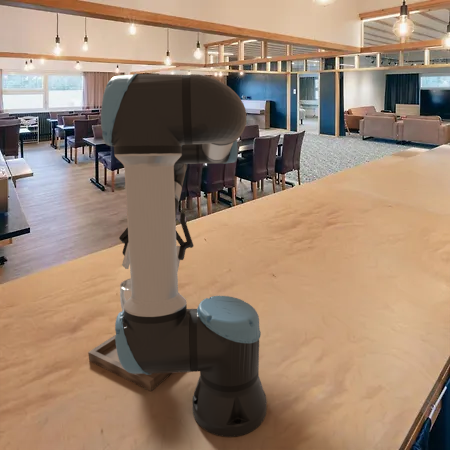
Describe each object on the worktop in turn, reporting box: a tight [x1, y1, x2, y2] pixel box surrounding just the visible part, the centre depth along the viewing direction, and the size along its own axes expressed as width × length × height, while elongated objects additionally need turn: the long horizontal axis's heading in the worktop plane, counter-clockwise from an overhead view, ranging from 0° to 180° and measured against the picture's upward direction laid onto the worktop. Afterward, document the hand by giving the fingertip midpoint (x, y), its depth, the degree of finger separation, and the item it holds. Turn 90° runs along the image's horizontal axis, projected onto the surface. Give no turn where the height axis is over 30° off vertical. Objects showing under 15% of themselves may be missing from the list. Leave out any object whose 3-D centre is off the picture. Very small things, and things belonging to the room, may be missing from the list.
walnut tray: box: [87, 335, 172, 392], centre depth 98 cm, size 20×20×2 cm
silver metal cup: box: [119, 277, 132, 312], centre depth 95 cm, size 7×7×15 cm
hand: (149, 269), depth 102 cm, fingers open, 13 cm apart
